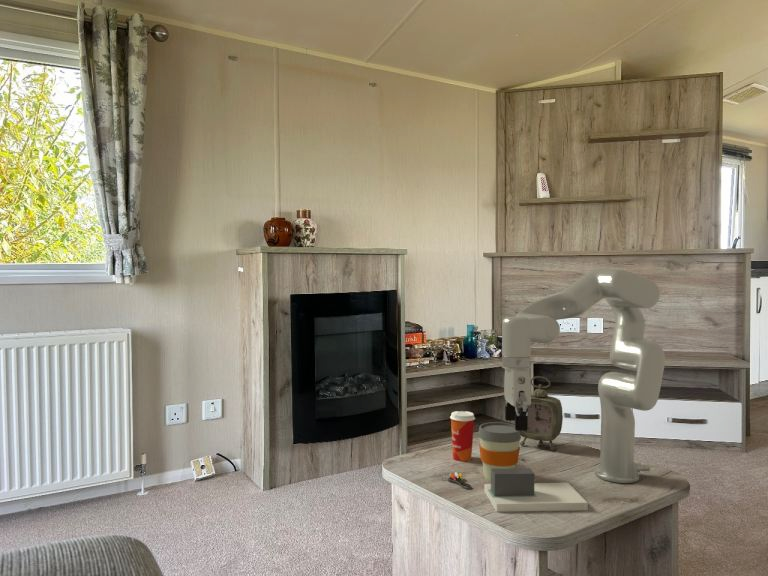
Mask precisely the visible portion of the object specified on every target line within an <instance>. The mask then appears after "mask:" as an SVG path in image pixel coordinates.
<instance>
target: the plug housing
mask: <svg viewBox="0 0 768 576" xmlns="http://www.w3.org/2000/svg"><path fill="white" fill-rule="evenodd" d="M535 474H536V473H535V472H534V471H533V470H532V468H530V467H516V468H501V469H491V481H490V484H491V492H492V493H493V495H494V496H534V483H535Z"/></svg>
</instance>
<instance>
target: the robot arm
mask: <svg viewBox="0 0 768 576" xmlns="http://www.w3.org/2000/svg"><path fill="white" fill-rule="evenodd" d="M660 298H661V291H660V288H659V286H658V284H657V283H656V282H655V281H654V280H653V279H650V278H648V277H645V276H643V275H640V274H636V273H633V272H631V271H628V270H625V269H623V268H622V269H621V268H596V269H592V270H589V271H588V272H586V273H585V274H584V275H582V276H581V277H580V278H578V279H577V280H576V281H575V282H573V283H572V284H570V285H569V286H567V287H566V288H565V289H563V290H561V291H558V292H556V293H554V294H551V295H549V296H546V297H543V298H540V299H538V300H535V301H534V302H532V303H530V304H528V305H527V306H526V307H525V308H522V310H520V311H519V312H517V314H516V315H515V316H514V315H513V316H512V315H511V316H506V317H504V318H503V319H502V325H501V326H502V327H501V331H502V332H501V336H502V338H501V344H502V345H501V368H502V369H504V379H503V380H504V381H503V383H504V384H503V385H504V386H503V391H504V393H503V395H504V400H505V402H504V411H505V412H504V413H505V415H504V420H505V421H509V422H510V421H514V425H515V430H516V431H526V430H527V429H528V412H527V411H528V408H527V407H529V406H530V405H531V395H532V394H531V389H532V388H531V376H530V370H531V368H532V366H531V362H532V361H531V358H532V357H531V356H532V355H531V353H532V352H531V348H532V346H531V345H532V344H533V343H540V344H549V343H552V342H554V341H556V340H557V339H558V337H559V335H560V332H561V328H560V327H561V326H560V324H559V322H558V321H557V320H559V321H560V320H566V319H571V318H576V317H579V316H582V315H583V314H584V313H586V312H587V311H589V309H591V308H592V307H594V306H595V305H596V304H597V303H599V302H600V301H602V300H604V299H605V301H606V302H607V304H608V305H609V306H610V308H611V310H612V312H613V316H614V328H613V332H612V333H613V334H612V339H611V345H610V350H609V361H610V363H611V364H612V365H613V366H615V367H618V368H620V369H624V370H629V371H634V372H636V375H633V374H630V373H624V372H619V371H611V372H606V373H605V374H603V375H602V376H601V377H600V379H599V381H598V384H597V385H598V387H597V392H598V397H599V401H600V413H601V415H600V416H601V417H600V452H599V453H600V455H599V456H600V457H599V459H600V461H599V466H597V467H595V468H594V475H595V476H596V477H598V478H599V479H601V480H605V481H608V482H612V483H616V484H617V483H618V484H630V483H631V484H632V483H637V482H638V481H639V480H640V474H639V473H640V472H650V471H651V467H650V465H649V464H642V463H641V462H635V438H636V437H635V435H636V434H635V429H636V421H635V420H636V418H635V415H634V411H633V409H634V410H638V411H642V412H643V411H645V412H646V411H650V410H652V409H654V407H655V406H656V405H657V403H658V400H659V398H660V397H659V396H660V392H661V388H662V387H661V386H662V381H663V377H664V376H663V375H664V370H665V364H666V354H665V352H664V348H663V347H662V345H660V343H658V342H656V341H654V340H647V339H644V338H645V337H644V336H645V330H646V320H645V317H644V314H643V312H642V310H641V309H651V308H653V307H654V306H656V305H657V304H658V302H659V300H660ZM521 403H522V404H521ZM519 408H520V409H519Z"/></svg>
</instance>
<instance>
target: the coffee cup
mask: <svg viewBox="0 0 768 576" xmlns="http://www.w3.org/2000/svg"><path fill="white" fill-rule="evenodd" d="M449 418H450V423H451V425H450V427H451V428H450V430H451V447H452V448H451V449H452V458H453V460H455V461H457V462H469V461H471V460H472V455H473V454H472V452H473V442H474V441H473V439H474V426H475V425H474V424H475V420H476V417H475V414H474V413H473V412H471V411H464V410H461V411H458V410H457V411H452V412H451V415H450V416H449Z"/></svg>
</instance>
